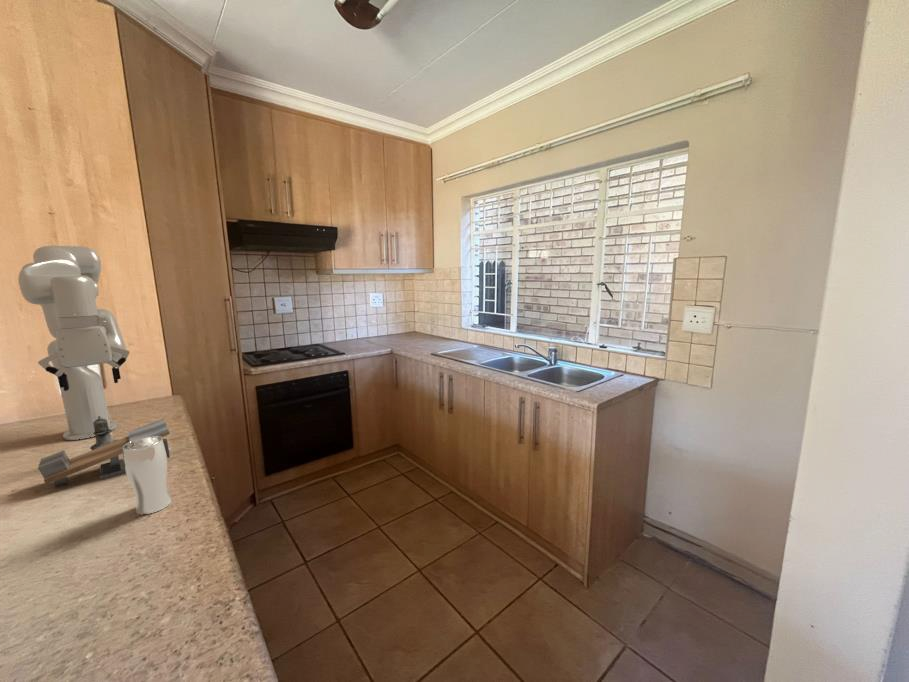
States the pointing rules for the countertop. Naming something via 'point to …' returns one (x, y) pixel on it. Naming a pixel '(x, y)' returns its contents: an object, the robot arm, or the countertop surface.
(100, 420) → the chess piece
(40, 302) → the robot arm
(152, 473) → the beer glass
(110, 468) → the beam stand
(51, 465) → the beam
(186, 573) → the countertop surface
